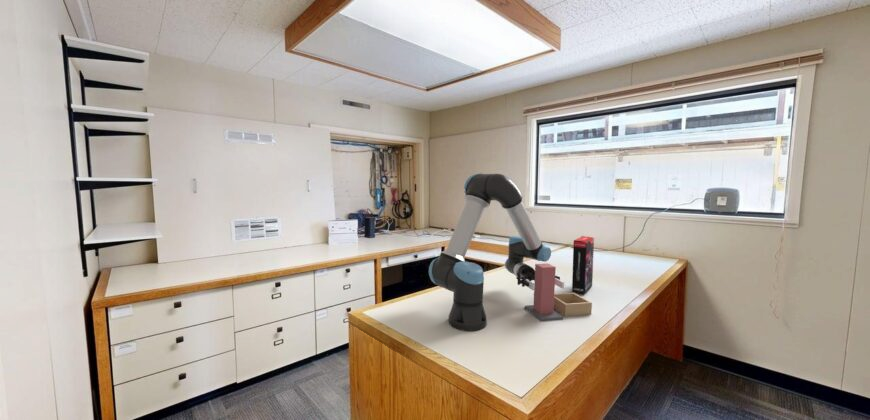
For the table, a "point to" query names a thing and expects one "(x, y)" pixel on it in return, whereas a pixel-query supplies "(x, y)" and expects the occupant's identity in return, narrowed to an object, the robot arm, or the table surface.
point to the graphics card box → (582, 264)
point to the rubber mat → (544, 316)
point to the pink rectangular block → (544, 288)
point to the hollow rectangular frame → (571, 304)
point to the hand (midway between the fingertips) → (548, 286)
